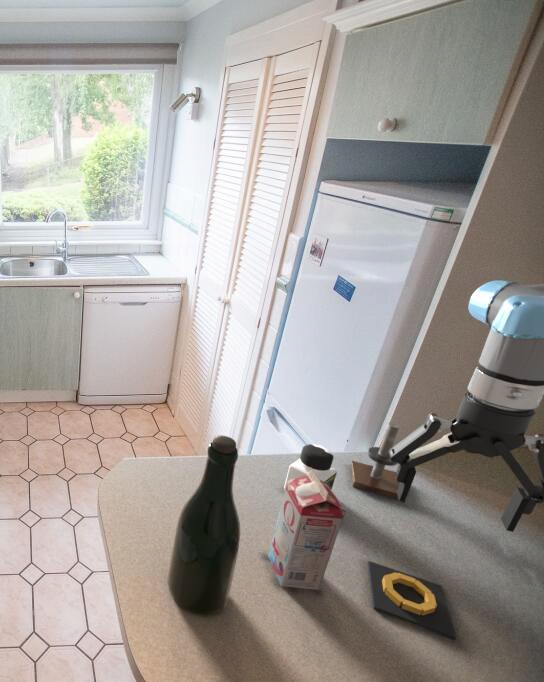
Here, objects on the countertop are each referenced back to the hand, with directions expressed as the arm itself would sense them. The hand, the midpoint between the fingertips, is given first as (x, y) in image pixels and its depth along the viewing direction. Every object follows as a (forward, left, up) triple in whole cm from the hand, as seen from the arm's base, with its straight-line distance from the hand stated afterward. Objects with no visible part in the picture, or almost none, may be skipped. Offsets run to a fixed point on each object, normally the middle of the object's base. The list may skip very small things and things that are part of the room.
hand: (451, 510), depth 75 cm
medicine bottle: (+18, -19, -19) cm, 32 cm away
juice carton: (+20, +7, -19) cm, 28 cm away
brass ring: (+2, +3, -18) cm, 18 cm away
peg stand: (+4, -31, -18) cm, 36 cm away
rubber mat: (+2, +3, -18) cm, 19 cm away
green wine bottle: (+35, +20, -19) cm, 44 cm away
